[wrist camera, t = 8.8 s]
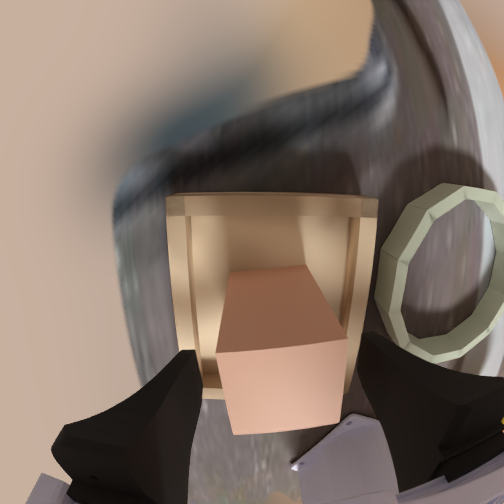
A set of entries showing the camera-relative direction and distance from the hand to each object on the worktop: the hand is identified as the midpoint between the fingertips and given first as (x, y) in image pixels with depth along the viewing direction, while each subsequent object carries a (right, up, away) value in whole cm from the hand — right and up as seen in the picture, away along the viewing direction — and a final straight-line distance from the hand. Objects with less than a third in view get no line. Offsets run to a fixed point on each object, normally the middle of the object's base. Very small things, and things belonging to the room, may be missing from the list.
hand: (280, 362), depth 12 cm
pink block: (0, +2, +6) cm, 6 cm away
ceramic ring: (+13, +3, +6) cm, 15 cm away
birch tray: (0, +2, +7) cm, 7 cm away
